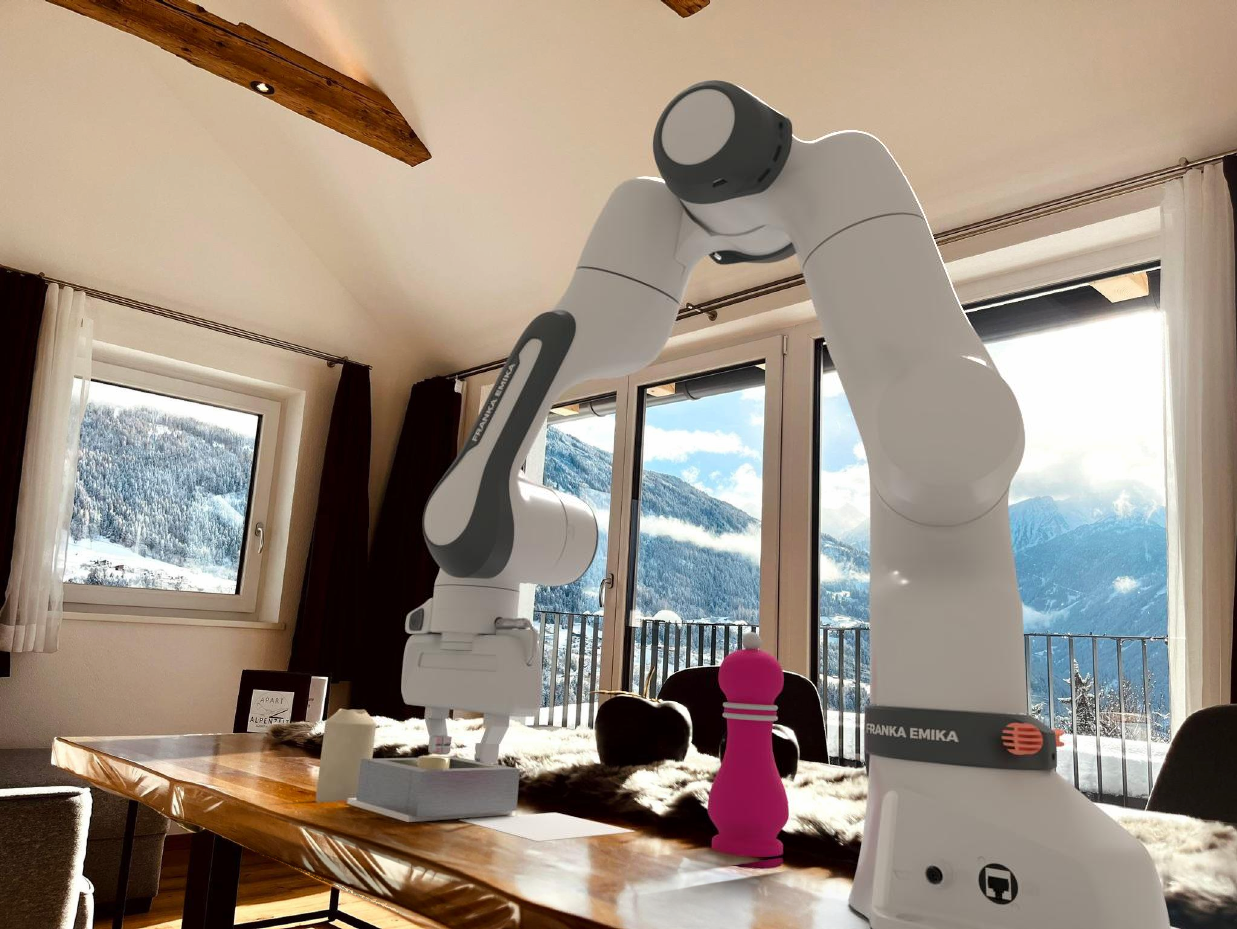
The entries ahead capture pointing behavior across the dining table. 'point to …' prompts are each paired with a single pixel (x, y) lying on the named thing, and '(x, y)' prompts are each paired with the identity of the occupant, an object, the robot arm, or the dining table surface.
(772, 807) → the pepper mill
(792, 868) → the dining table surface
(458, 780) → the collar
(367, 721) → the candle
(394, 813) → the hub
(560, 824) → the mat
